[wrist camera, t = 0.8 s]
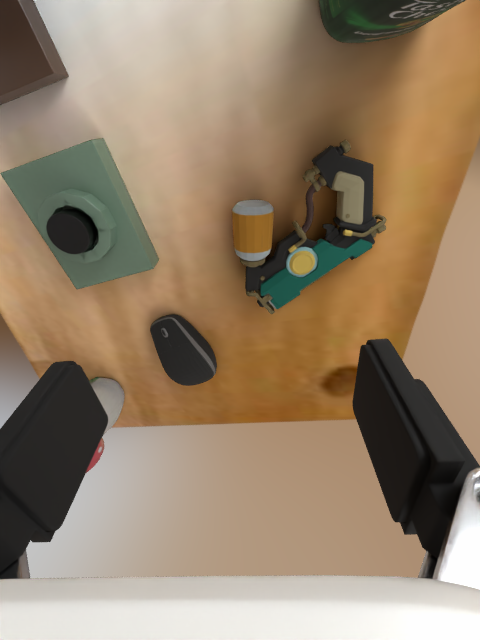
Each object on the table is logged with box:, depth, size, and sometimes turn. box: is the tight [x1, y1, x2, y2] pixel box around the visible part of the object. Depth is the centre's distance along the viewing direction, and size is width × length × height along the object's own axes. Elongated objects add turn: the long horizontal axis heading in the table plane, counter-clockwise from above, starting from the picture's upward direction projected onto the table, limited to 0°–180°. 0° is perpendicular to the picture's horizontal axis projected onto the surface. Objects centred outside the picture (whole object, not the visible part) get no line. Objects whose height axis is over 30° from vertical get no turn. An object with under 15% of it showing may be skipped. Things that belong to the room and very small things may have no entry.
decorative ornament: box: [86, 377, 124, 473], centre depth 43 cm, size 9×6×15 cm
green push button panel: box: [0, 138, 159, 289], centre depth 32 cm, size 13×10×4 cm
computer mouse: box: [150, 314, 217, 386], centre depth 42 cm, size 7×12×4 cm, turn 26°
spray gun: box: [232, 140, 386, 314], centre depth 33 cm, size 4×17×15 cm
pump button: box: [46, 209, 97, 254], centre depth 29 cm, size 4×4×2 cm
